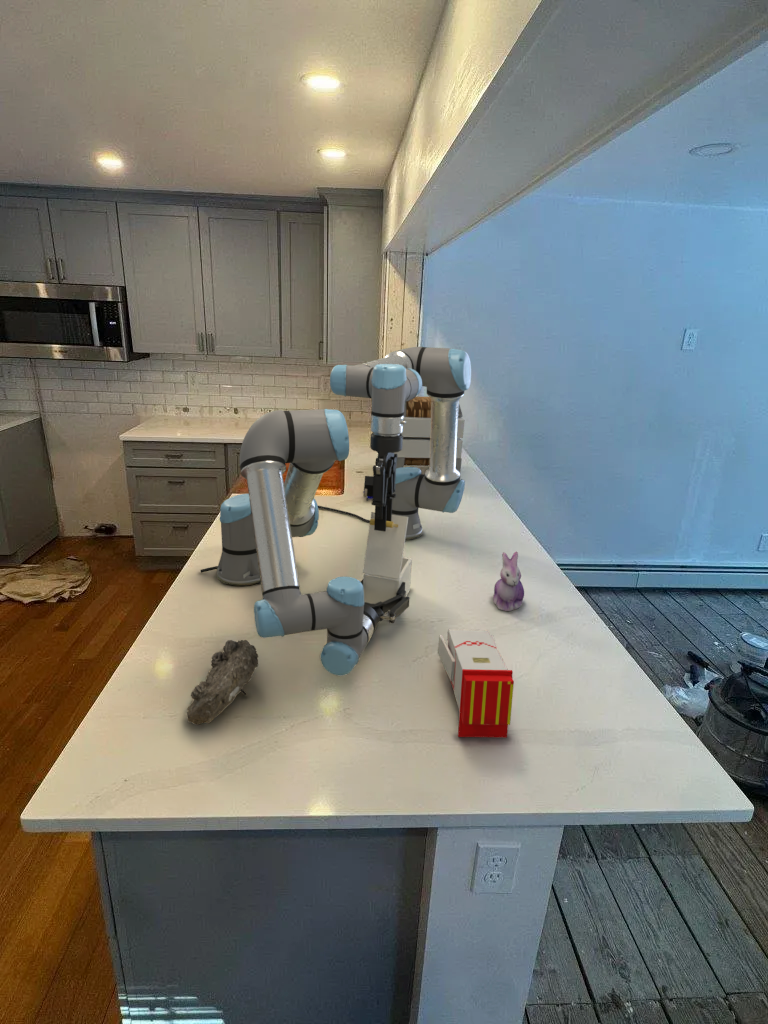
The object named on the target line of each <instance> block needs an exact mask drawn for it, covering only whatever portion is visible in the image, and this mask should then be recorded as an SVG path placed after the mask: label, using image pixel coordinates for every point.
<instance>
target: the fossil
mask: <svg viewBox="0 0 768 1024" xmlns="http://www.w3.org/2000/svg"><path fill="white" fill-rule="evenodd" d="M222 648H223V652H222V651H216V652H214V654H212V656H211V660H210V663H211V664H210V667H211V668H210V670H209V671H208V673H207V675H206V678H205V680H202V681H200V682H199V683H198V684H197V685H195V686H194V688H193V689H192V692H191V693H190V696H191V698H192V702H191V704H190V705H189V706H188V707H187V709H186V710H187V711H186V717H187V722H188V723H192V724H194V725H195V726H196V725H202V724H206V723H208V724H211V722H213V721H214V720H215V719H216V717H218V716H219V715H220V714H222V713H223V711H225V709H226V708H227V707H228V706H230V704H232V703H233V702H234V700H235V699H236V696H237V695H239V694H240V692H241V693H242V695H244V696H248V693H247V692H246V691H245V690H244V688H243V687H244V686H245V684H248V683H250V681H251V679H252V678H253V675H254V673H255V671H256V669H257V668H258V667H259V654H258V650H257V648H256V647H255V645H253V644H251V643H250V641H248V639H240V640H238V641H237V640H236V641H235V640H232V639H228V640H227V641H225V643H224V645H223V647H222Z"/></svg>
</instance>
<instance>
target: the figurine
mask: <svg viewBox="0 0 768 1024" xmlns="http://www.w3.org/2000/svg"><path fill="white" fill-rule="evenodd" d="M501 558H502V559H501V560H502V568H501V570H500V574H499V575H500V579H498V580H497V581H496V582H495V584H494V588H493V598H492V600H493V604H494V605H495V606H496V607H497V609H498V610H500V611H504V612H505V611H506V612H512V611H513V610H518V609H519V608H521V605H522V604H523V601H524V598H525V589H524V585H523V583H522V581H521V578H522V573H521V570H520V568H519V566H518V560H519V552H518V551H515V552H514V553H513V554H512V556H511V558H509V557H508V555H507V553H506V552H505V551H503V552H502V553H501Z"/></svg>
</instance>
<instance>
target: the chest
mask: <svg viewBox="0 0 768 1024" xmlns="http://www.w3.org/2000/svg"><path fill="white" fill-rule="evenodd" d="M412 565H413V558H412V557H406V556H403V559H402V567H401V574H400V579H397V578H391V577H384V576H378V575H372V574H366V573H363V577H362V579H363V590H364V602H367V603H371V604H376V603H378V602H380V601H381V602H384V601H386V600H388V599H391V598H393V597H395V596H396V593H397V591H398V589H399V588H400V586H401V584H402V582H405V591H406V597H408V595H409V593H410V591H411V581H412V580H411V579H412ZM386 613H387V612H386ZM386 613H385V614H386Z"/></svg>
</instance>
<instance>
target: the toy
mask: <svg viewBox="0 0 768 1024" xmlns="http://www.w3.org/2000/svg"><path fill="white" fill-rule="evenodd" d="M446 640H447V643H446V641H445V639H444V636H443V635H442V634H439V637H438V646H437V656H438V657H439V659H440V661H441V663H442V666H443V668H444V670H445V672H446V674H447V677H448V679H449V681H450V684H451V687H452V690H453V693H454V697H455V701H456V705H457V708H458V711H459V714H458V715H459V716H458V730H457V731H458V732H457V737H458V738H508V731H509V726H510V725H511V717H512V707H513V697H514V696H513V695H514V684H515V680H514V679H513V673H514V671H513V670H512V669H508V667H507V665H506V662H505V661H504V659H503V658H502V655H501V653H500V651H499V649H498V647H497V643H496V639H495V637H494V635H493V634H491V632H490V631H489V629H467V628H466V629H465V628H463V629H461V628H460V629H459V628H448V630H447V639H446Z"/></svg>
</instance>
